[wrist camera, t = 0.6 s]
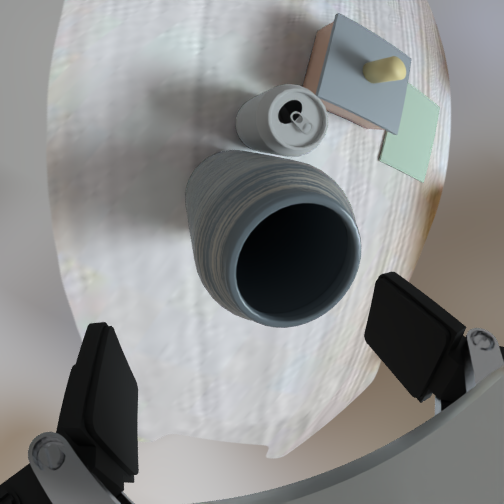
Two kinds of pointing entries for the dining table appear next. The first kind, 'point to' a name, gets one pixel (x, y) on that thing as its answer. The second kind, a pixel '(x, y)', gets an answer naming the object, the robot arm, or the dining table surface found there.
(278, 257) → the vase
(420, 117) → the mat
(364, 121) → the salmon open box
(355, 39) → the lid
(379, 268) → the dining table surface
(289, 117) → the can
